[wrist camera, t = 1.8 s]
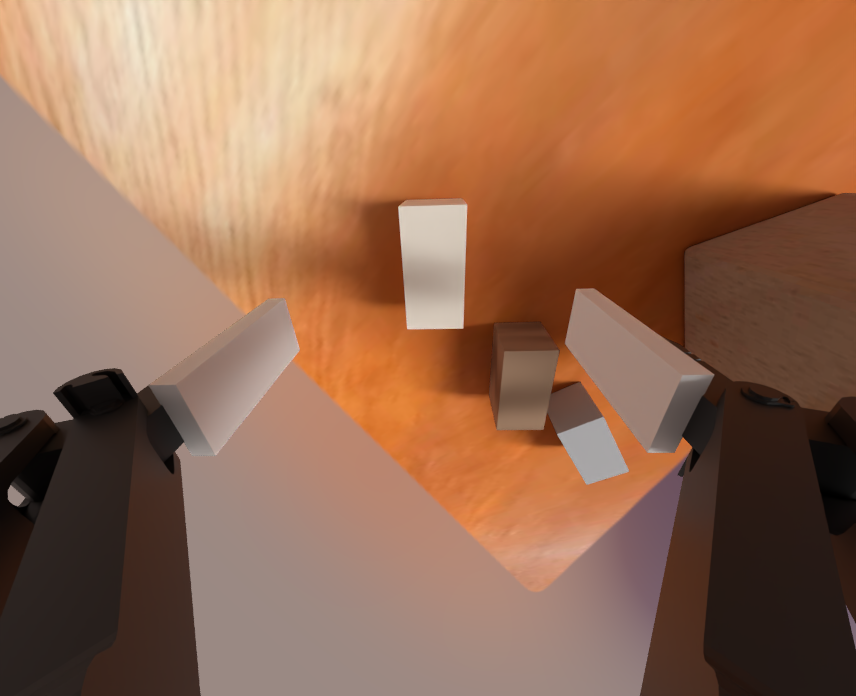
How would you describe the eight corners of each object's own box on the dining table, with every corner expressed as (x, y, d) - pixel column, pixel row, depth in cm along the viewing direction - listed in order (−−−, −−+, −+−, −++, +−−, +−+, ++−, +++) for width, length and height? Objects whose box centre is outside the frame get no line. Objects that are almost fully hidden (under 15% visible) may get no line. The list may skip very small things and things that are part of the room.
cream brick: (406, 199, 22) (398, 206, 18) (461, 197, 22) (467, 204, 17) (412, 302, 26) (407, 329, 22) (459, 302, 26) (463, 328, 21)
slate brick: (540, 397, 31) (556, 434, 26) (579, 380, 29) (603, 416, 25) (568, 444, 34) (586, 484, 30) (604, 431, 33) (629, 471, 28)
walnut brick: (493, 322, 27) (504, 351, 22) (540, 321, 26) (559, 350, 22) (488, 393, 31) (496, 430, 26) (528, 393, 30) (543, 429, 26)
